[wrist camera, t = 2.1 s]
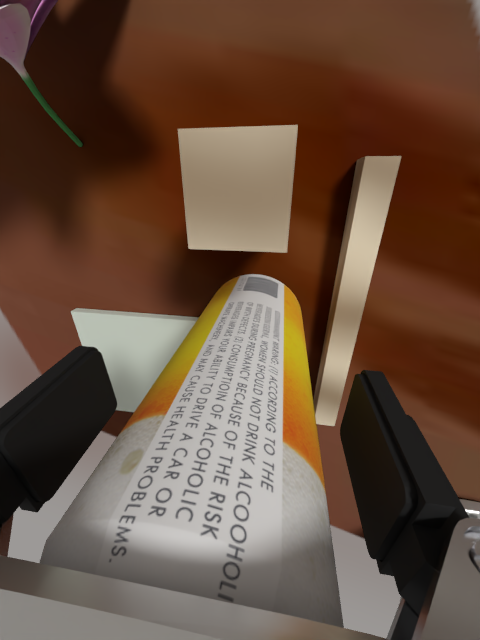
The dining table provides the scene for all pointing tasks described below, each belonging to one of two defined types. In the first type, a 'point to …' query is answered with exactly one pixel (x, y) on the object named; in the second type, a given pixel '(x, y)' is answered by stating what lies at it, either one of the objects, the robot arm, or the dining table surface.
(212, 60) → the dining table surface
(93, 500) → the beer can
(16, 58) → the lily
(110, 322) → the mat
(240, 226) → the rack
